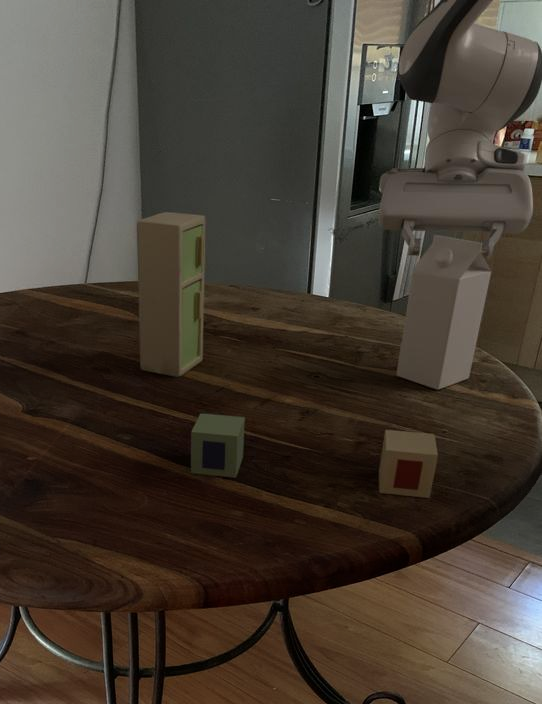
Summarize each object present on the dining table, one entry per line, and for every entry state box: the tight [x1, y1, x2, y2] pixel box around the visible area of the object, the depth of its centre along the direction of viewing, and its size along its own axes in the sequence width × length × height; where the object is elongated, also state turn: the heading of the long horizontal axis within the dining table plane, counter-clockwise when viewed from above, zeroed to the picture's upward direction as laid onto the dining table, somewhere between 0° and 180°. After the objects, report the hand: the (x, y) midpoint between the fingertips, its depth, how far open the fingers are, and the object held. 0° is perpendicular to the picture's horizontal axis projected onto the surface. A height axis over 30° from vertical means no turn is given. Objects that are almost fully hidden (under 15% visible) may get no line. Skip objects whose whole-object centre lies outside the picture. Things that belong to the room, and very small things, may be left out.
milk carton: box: [396, 234, 492, 391], centre depth 100 cm, size 7×7×19 cm
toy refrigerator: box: [136, 211, 207, 378], centre depth 104 cm, size 8×7×21 cm
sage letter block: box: [190, 413, 246, 479], centre depth 81 cm, size 5×5×5 cm
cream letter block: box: [378, 429, 439, 499], centre depth 76 cm, size 5×5×5 cm
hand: (449, 254), depth 101 cm, fingers open, 8 cm apart
